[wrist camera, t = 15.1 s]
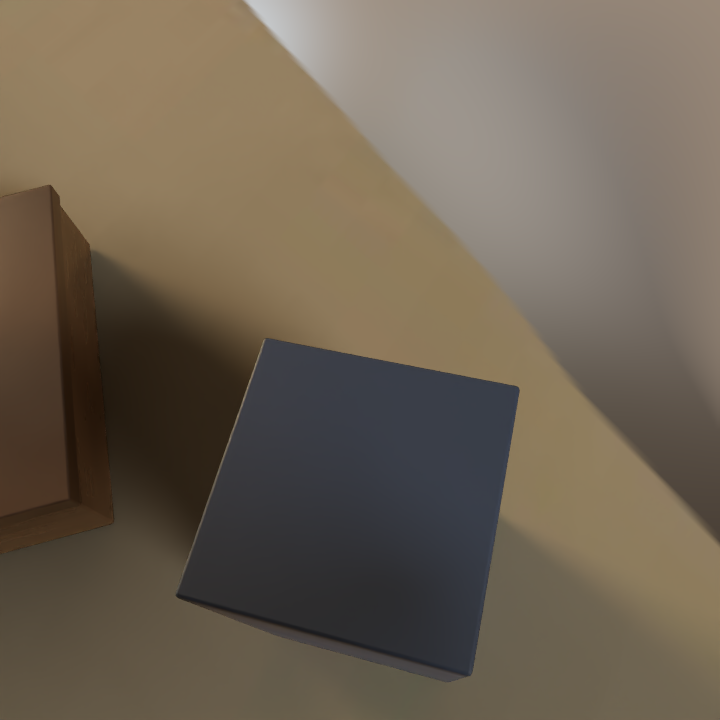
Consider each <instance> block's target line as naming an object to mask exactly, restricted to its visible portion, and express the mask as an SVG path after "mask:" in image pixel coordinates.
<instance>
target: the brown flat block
mask: <svg viewBox="0 0 720 720" xmlns="http://www.w3.org/2000/svg"><path fill="white" fill-rule="evenodd" d="M112 523H114V514H113V503H112V492H111V481H110V470H109V458H108V447H107V436H106V425H105V413H104V402H103V391H102V380H101V369H100V357H99V346H98V335H97V324H96V312H95V301H94V290H93V279H92V268H91V256H90V245H89V243H88V242H87V241H86V239H85V238H84V237H83V235H82V234H81V233H80V231H79V230H78V229H77V227H76V226H75V225H74V223H73V222H72V221H71V219H70V218H69V216H68V215H67V214H66V212H65V211H64V210H63V208H62V207H61V206H60V197H59V195H58V194H57V192H56V191H55V190H54V188H53V187H52V186H51V185H47V186H43V187H39V188H35V189H31V190H27V191H23V192H19V193H15V194H11V195H7V196H3V197H0V554H2V553H6V552H9V551H13V550H17V549H21V548H24V547H28V546H32V545H35V544H39V543H43V542H47V541H50V540H54V539H58V538H61V537H65V536H69V535H72V534H76V533H80V532H84V531H87V530H91V529H95V528H98V527H102V526H106V525H110V524H112Z"/></svg>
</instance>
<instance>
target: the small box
mask: <svg viewBox="0 0 720 720" xmlns="http://www.w3.org/2000/svg"><path fill="white" fill-rule="evenodd" d="M518 397H519V387H517V386H513V385H507V384H502V383H497V382H492V381H487V380H481V379H476V378H471V377H466V376H461V375H456V374H450V373H445V372H440V371H435V370H430V369H424V368H419V367H414V366H409V365H404V364H398V363H393V362H388V361H383V360H378V359H372V358H367V357H362V356H357V355H352V354H347V353H341V352H336V351H331V350H326V349H321V348H315V347H310V346H305V345H300V344H295V343H289V342H284V341H279V340H274V339H269V338H265V339H264V340H263V343H262V346H261V349H260V352H259V355H258V358H257V360H256V363H255V366H254V369H253V372H252V375H251V378H250V380H249V383H248V386H247V389H246V392H245V395H244V398H243V401H242V403H241V406H240V409H239V412H238V415H237V418H236V421H235V424H234V426H233V429H232V432H231V435H230V438H229V441H228V444H227V447H226V449H225V452H224V455H223V458H222V461H221V464H220V467H219V470H218V472H217V475H216V478H215V481H214V484H213V487H212V490H211V493H210V495H209V498H208V501H207V504H206V507H205V510H204V513H203V516H202V518H201V521H200V524H199V527H198V530H197V533H196V536H195V539H194V541H193V544H192V547H191V550H190V553H189V556H188V559H187V562H186V564H185V567H184V570H183V573H182V576H181V579H180V582H179V585H178V587H177V590H176V597H178V598H179V599H182V600H184V601H187V602H190V603H192V604H195V605H198V606H200V607H203V608H206V609H208V610H211V611H213V612H216V613H219V614H221V615H224V616H226V617H229V618H232V619H234V620H237V621H240V622H242V623H245V624H247V625H250V626H253V627H255V628H258V629H260V630H263V631H266V632H268V633H271V634H274V635H276V636H280V637H283V638H287V639H291V640H294V641H298V642H302V643H305V644H309V645H313V646H316V647H320V648H324V649H327V650H331V651H334V652H338V653H342V654H345V655H349V656H353V657H356V658H360V659H364V660H367V661H371V662H375V663H378V664H382V665H386V666H389V667H393V668H396V669H400V670H404V671H407V672H411V673H415V674H418V675H422V676H426V677H429V678H433V679H437V680H440V681H444V682H451V681H455V680H458V679H461V678H464V677H467V676H470V675H471V674H472V672H473V666H474V660H475V654H476V648H477V642H478V636H479V630H480V624H481V618H482V612H483V606H484V600H485V594H486V588H487V582H488V576H489V570H490V564H491V558H492V552H493V546H494V540H495V534H496V528H497V522H498V516H499V510H500V504H501V498H502V492H503V486H504V480H505V474H506V469H507V463H508V457H509V451H510V445H511V439H512V433H513V427H514V421H515V415H516V409H517V403H518Z"/></svg>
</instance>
